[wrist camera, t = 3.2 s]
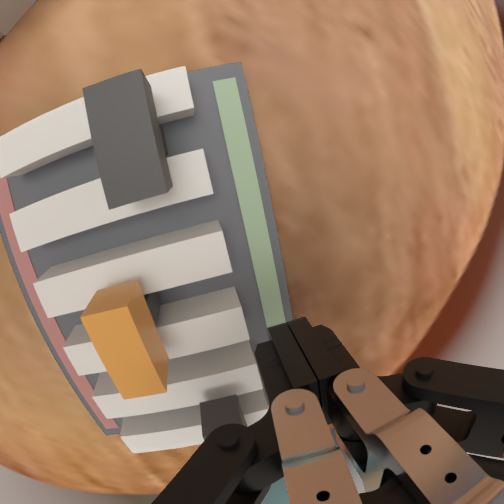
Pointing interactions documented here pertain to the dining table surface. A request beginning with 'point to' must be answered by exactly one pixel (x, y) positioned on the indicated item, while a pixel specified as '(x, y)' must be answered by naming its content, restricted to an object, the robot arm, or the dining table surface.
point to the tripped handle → (128, 338)
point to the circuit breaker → (12, 13)
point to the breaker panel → (151, 242)
